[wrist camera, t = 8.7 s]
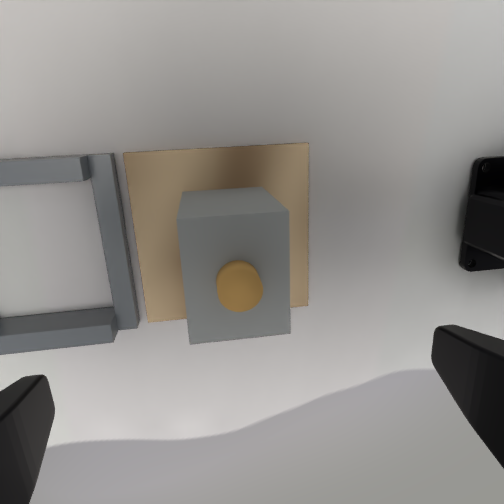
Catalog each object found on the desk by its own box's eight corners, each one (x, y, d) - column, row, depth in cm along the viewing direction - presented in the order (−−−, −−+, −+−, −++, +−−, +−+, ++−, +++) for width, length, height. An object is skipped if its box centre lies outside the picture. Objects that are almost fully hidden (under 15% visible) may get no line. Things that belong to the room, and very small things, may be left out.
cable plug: (261, 186, 19) (296, 217, 13) (264, 277, 21) (296, 347, 14) (182, 191, 19) (174, 225, 12) (191, 284, 20) (189, 359, 14)
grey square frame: (113, 153, 18) (103, 155, 16) (139, 320, 21) (133, 340, 19) (-70, 162, 17) (-103, 167, 15) (-16, 337, 20) (-38, 359, 18)
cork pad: (306, 142, 19) (308, 143, 19) (306, 303, 22) (308, 305, 22) (123, 152, 18) (122, 152, 18) (148, 320, 21) (148, 322, 21)
